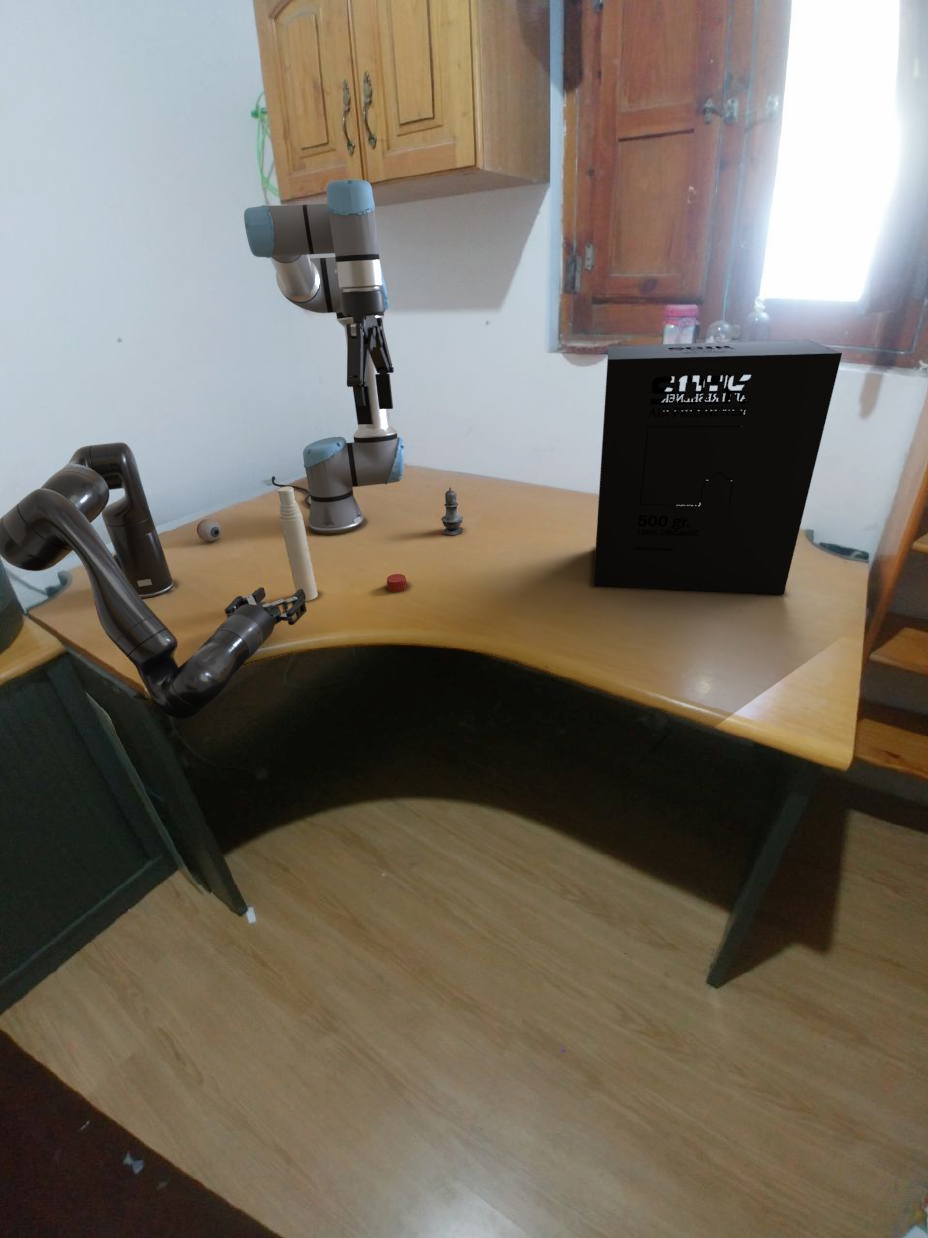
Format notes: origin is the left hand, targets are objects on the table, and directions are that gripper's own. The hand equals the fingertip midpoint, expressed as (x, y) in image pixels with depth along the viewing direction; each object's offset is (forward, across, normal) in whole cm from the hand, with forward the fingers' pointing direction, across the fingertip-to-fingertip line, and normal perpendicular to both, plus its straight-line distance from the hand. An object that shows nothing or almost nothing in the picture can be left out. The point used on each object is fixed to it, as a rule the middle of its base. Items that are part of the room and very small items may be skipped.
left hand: (282, 592), depth 121 cm
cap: (+16, -19, +4) cm, 25 cm away
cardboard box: (+30, -80, +6) cm, 86 cm away
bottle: (+10, 0, +6) cm, 12 cm away
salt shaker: (+49, -25, +6) cm, 55 cm away
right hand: (+15, -19, -31) cm, 39 cm away
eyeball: (+38, +40, +6) cm, 55 cm away
